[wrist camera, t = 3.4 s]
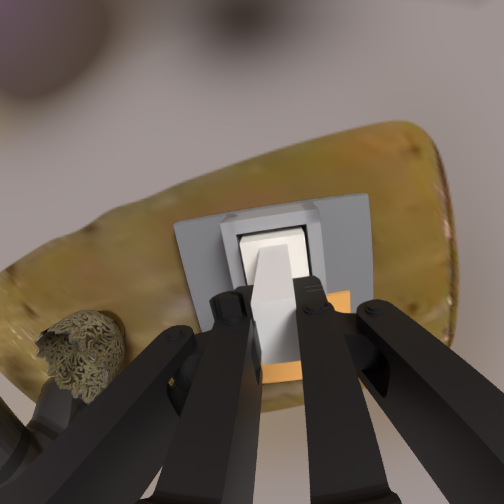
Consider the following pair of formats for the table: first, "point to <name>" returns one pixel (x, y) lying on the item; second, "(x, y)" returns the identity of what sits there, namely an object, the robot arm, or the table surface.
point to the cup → (84, 351)
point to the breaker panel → (317, 247)
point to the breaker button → (272, 237)
